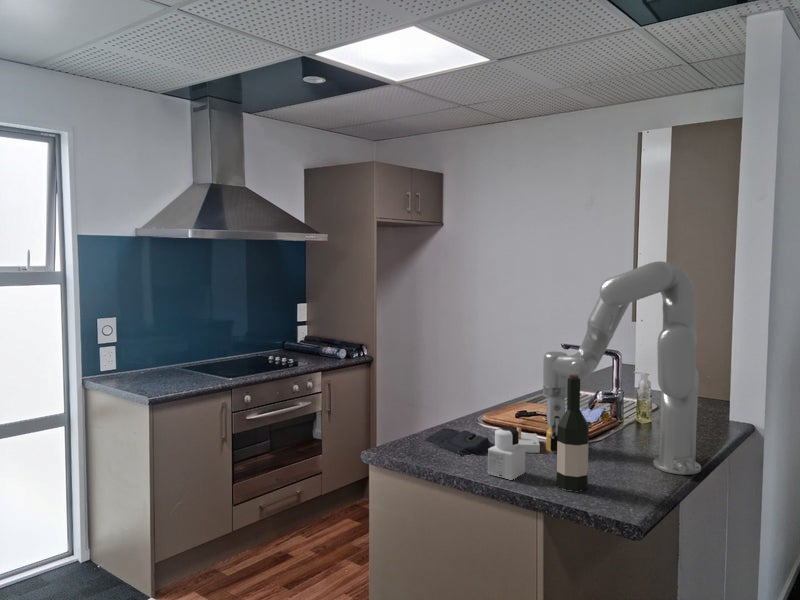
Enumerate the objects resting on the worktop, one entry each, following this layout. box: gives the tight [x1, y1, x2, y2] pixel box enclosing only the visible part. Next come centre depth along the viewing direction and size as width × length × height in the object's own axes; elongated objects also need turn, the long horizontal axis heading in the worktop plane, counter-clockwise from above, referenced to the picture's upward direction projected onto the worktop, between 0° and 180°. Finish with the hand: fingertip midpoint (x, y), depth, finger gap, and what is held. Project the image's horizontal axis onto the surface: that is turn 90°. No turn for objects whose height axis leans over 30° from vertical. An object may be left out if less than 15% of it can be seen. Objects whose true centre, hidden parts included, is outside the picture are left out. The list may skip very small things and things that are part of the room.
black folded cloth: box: [423, 427, 495, 457], centre depth 202 cm, size 15×22×5 cm
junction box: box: [516, 426, 541, 454], centre depth 203 cm, size 18×12×6 cm, turn 173°
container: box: [487, 427, 526, 481], centre depth 175 cm, size 8×8×13 cm
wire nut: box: [545, 427, 557, 453], centre depth 197 cm, size 5×5×7 cm
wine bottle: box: [556, 375, 590, 491], centre depth 165 cm, size 8×8×30 cm
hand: (554, 446), depth 197 cm, fingers open, 6 cm apart
